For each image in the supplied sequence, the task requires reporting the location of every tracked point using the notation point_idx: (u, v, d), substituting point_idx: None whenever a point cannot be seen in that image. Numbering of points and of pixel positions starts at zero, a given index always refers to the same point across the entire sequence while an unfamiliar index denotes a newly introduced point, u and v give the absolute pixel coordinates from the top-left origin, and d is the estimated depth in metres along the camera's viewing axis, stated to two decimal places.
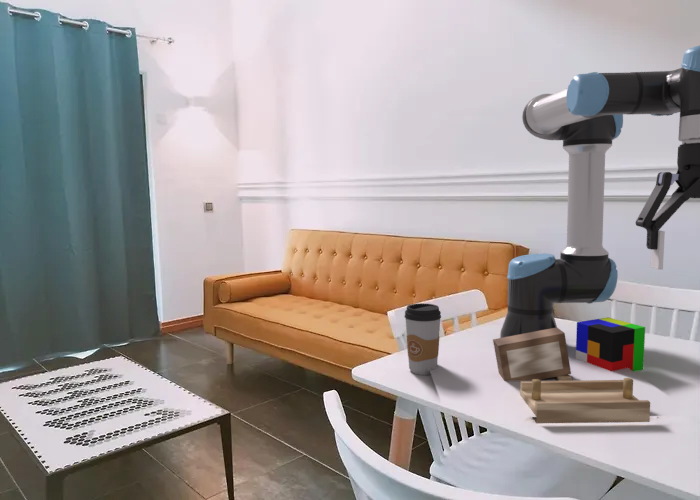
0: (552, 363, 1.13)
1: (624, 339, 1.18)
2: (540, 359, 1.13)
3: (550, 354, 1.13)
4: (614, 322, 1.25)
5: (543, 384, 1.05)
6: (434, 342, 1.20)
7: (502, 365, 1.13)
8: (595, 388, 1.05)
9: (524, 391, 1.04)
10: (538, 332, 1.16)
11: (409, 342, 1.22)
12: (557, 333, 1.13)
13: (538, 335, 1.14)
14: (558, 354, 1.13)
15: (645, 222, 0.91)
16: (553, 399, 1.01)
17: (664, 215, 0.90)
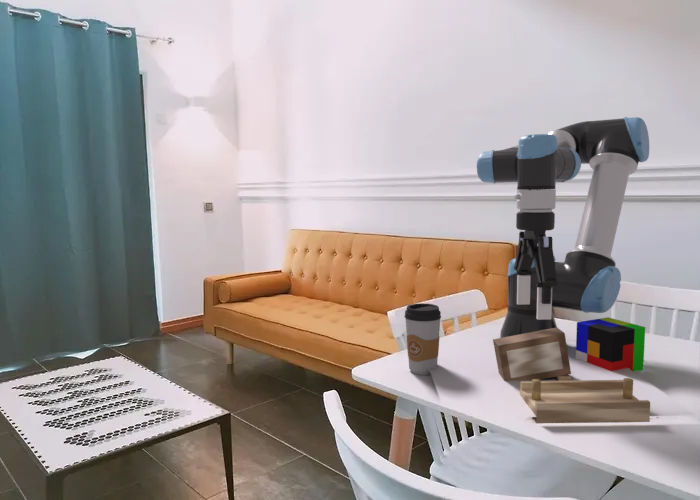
0: (552, 363, 1.13)
1: (624, 339, 1.18)
2: (540, 359, 1.13)
3: (550, 354, 1.13)
4: (614, 322, 1.25)
5: (543, 384, 1.05)
6: (434, 342, 1.20)
7: (502, 365, 1.13)
8: (595, 388, 1.05)
9: (524, 391, 1.04)
10: (538, 332, 1.16)
11: (409, 342, 1.22)
12: (557, 333, 1.13)
13: (538, 335, 1.14)
14: (558, 354, 1.13)
15: (514, 266, 1.23)
16: (553, 399, 1.01)
17: (519, 263, 1.19)
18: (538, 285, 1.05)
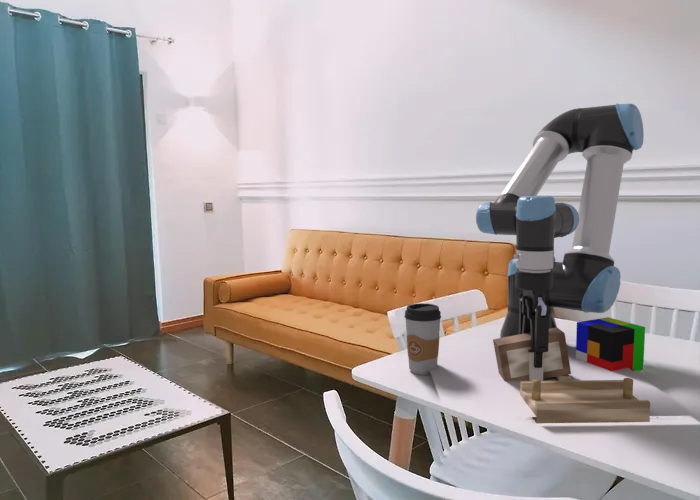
0: (552, 363, 1.13)
1: (624, 339, 1.18)
2: None
3: (550, 354, 1.13)
4: (614, 322, 1.25)
5: (543, 384, 1.05)
6: (434, 342, 1.20)
7: (502, 365, 1.13)
8: (595, 388, 1.05)
9: (524, 391, 1.04)
10: None
11: (409, 342, 1.22)
12: (557, 333, 1.13)
13: None
14: (558, 354, 1.13)
15: (519, 333, 1.20)
16: (553, 399, 1.01)
17: (522, 329, 1.18)
18: (530, 351, 1.11)
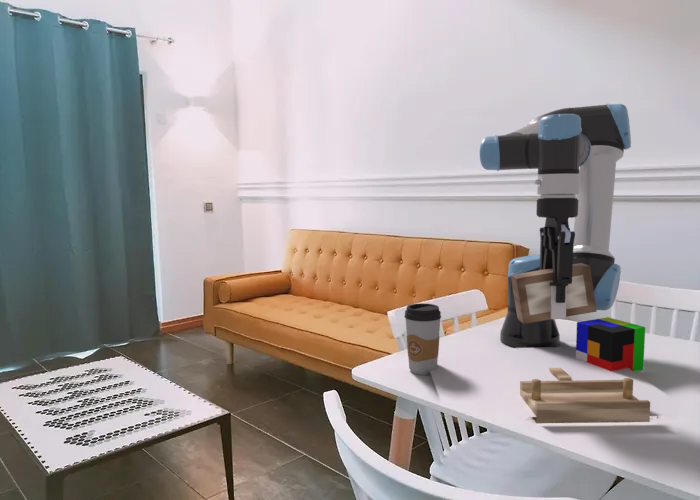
0: (576, 299, 1.03)
1: (624, 339, 1.18)
2: None
3: (574, 289, 1.03)
4: (614, 322, 1.25)
5: (543, 384, 1.05)
6: (434, 342, 1.20)
7: (520, 300, 1.04)
8: (595, 388, 1.05)
9: (524, 391, 1.04)
10: None
11: (409, 342, 1.22)
12: (582, 266, 1.03)
13: None
14: (582, 289, 1.03)
15: None
16: (553, 399, 1.01)
17: (543, 265, 1.09)
18: (552, 284, 1.01)
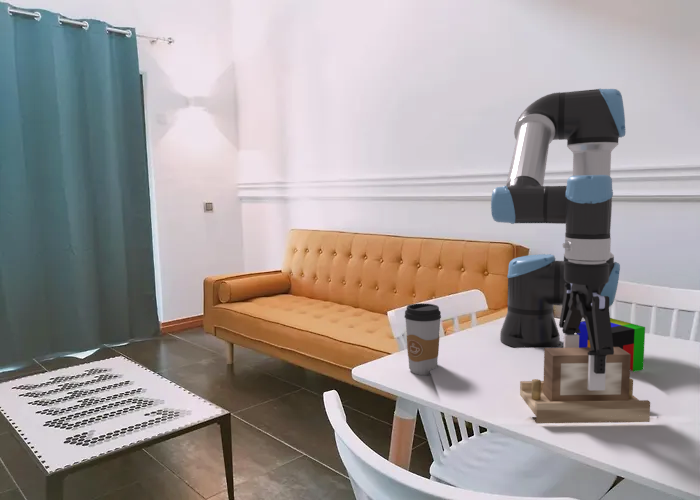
0: (610, 386, 0.98)
1: (624, 339, 1.18)
2: None
3: (610, 375, 0.98)
4: (614, 322, 1.25)
5: (543, 384, 1.05)
6: (434, 342, 1.20)
7: (553, 379, 0.98)
8: None
9: (524, 391, 1.04)
10: None
11: (409, 342, 1.22)
12: (622, 353, 0.98)
13: None
14: (618, 377, 0.98)
15: (559, 323, 1.08)
16: None
17: (565, 321, 1.05)
18: (591, 353, 0.92)
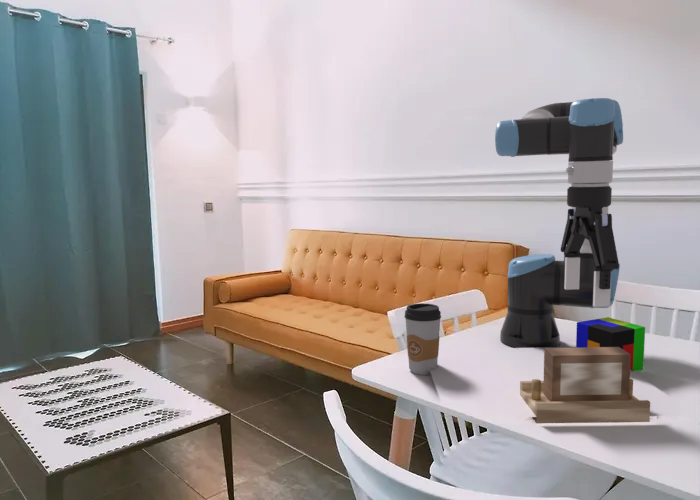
0: (610, 386, 0.98)
1: (624, 339, 1.18)
2: (597, 380, 0.98)
3: (610, 375, 0.98)
4: (614, 322, 1.25)
5: (543, 384, 1.05)
6: (434, 342, 1.20)
7: (553, 379, 0.98)
8: None
9: (524, 391, 1.04)
10: (598, 349, 1.01)
11: (409, 342, 1.22)
12: (622, 353, 0.98)
13: (599, 352, 0.99)
14: (618, 377, 0.98)
15: (561, 248, 1.11)
16: None
17: (567, 244, 1.08)
18: (596, 268, 0.94)
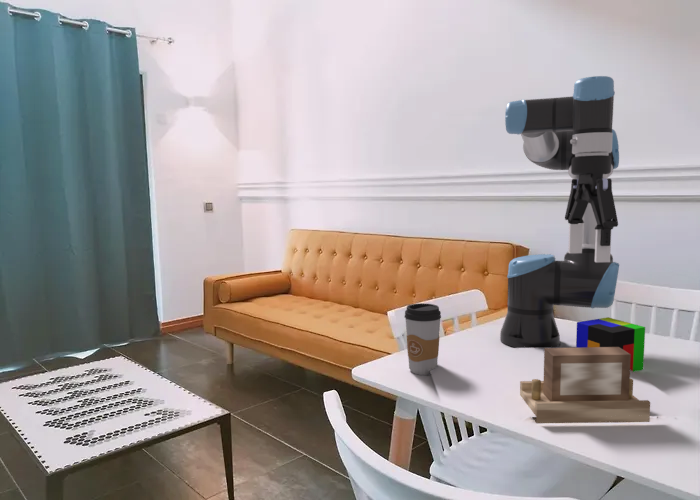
0: (610, 386, 0.98)
1: (624, 339, 1.18)
2: (597, 380, 0.98)
3: (610, 375, 0.98)
4: (614, 322, 1.25)
5: (543, 384, 1.05)
6: (434, 342, 1.20)
7: (553, 379, 0.98)
8: None
9: (524, 391, 1.04)
10: (598, 349, 1.01)
11: (409, 342, 1.22)
12: (622, 353, 0.98)
13: (599, 352, 0.99)
14: (618, 377, 0.98)
15: (565, 216, 1.22)
16: None
17: (571, 212, 1.19)
18: (598, 227, 1.04)
